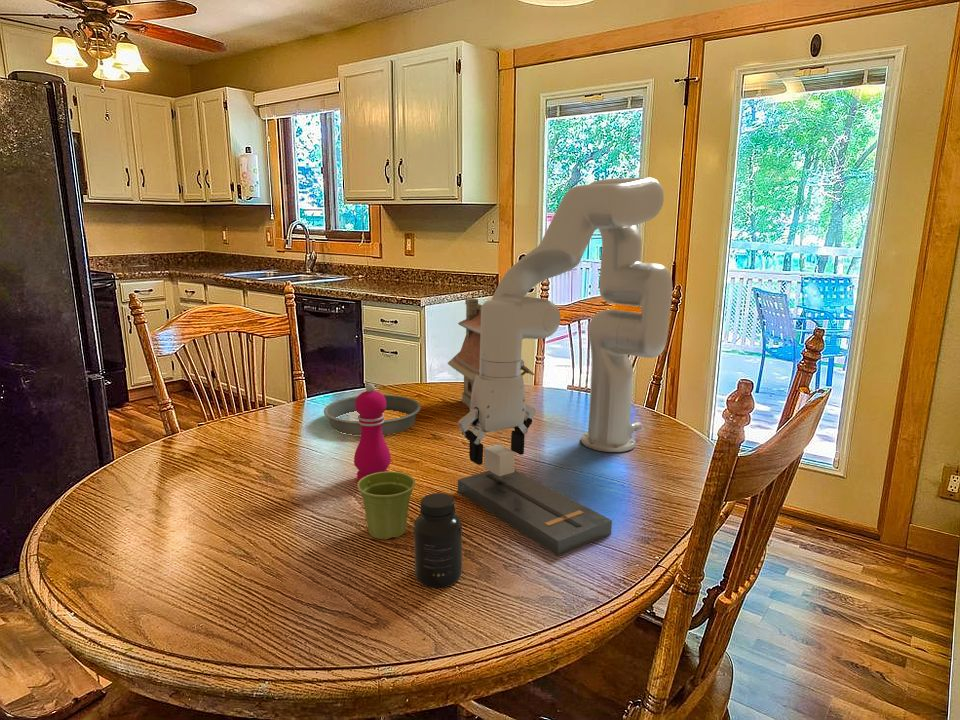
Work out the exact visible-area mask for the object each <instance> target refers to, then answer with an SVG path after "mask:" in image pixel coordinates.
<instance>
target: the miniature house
mask: <svg viewBox="0 0 960 720" xmlns="http://www.w3.org/2000/svg"><path fill="white" fill-rule="evenodd" d="M464 301H465V303H464V304H465V306H466V307H465V308H466V310H465V311H466V313H465V314H466V315H465V316H466V317H465V319H463V320H461V321H459V322H458V323H457V324H458V325H459V326H460V327H463V328H464V329H465V336H464V340H463V342H462V345H461V348H460V351H459V352H458V353H457V354H455V356H454V357H452V358H451V359H450V360H449V361H448V362H447V365H449V366H450V367H451V368H452V369H454V370H455V371H457V372H458V373H460V374H461V375H462V376H463V392H462V393H461V402H462V403H463V404H464V403H465V404H466V405H467V406H466V405H465V404H464V405H465V406H466V407H467V408H469V409H470V402H471V394H472V389H473V384H474V380H475V377H476V376H478V375H479V369H480V334H481V308H482V305H483V304H480V303H479V299H478V298H475V297H473V298H465V300H464ZM521 371H522V372H521V375H522V376H524V375H526V374H529V375H531V376H535V373H534V372H533V371H532V370H531V369H529V368H528V367H527V366H525V365H524V366H523V367H521Z"/></svg>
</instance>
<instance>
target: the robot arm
mask: <svg viewBox="0 0 960 720" xmlns="http://www.w3.org/2000/svg"><path fill="white" fill-rule="evenodd" d="M664 194H665V193H664V189H663V186H662V185H661V183H660V182H659V181H658V179H655V178H653V177H627V178H625V177H624V178H608V179H607V178H606V179H599V180H596V181H593V182H590V183H589V184H581V185H576V186H573V187H571V188H569V189H568V190H567V192H566V193H565V194H564V195H563V197H562V199H561V201H560V202H559V204H558V207H557V209H556V211H555V212H554V216H553V217H552V219H551V221H550V223H549V225H548V227H547V229H546V230H545V232H544V235H543V237H542V239H541V242H540V243H539V244H538V245H537V247H535V248H533V249H532V250H530V252H528V253H527V254H525V255H524V256H523V257H522V258H520V259H519V260H518V261H517V262H516V263H515V264H512V266H511V267H510V268H509V269H508V270H507V271H506V273H505V274H504V275H503V276H502V278H501V280H500V281H499V283H498V285H497V287H496V289H495V291H494V293H493V295H492V298H491V299H490V300H486V301H484V303H482V304H481V305H482V308H481V334H480V369H479V375H478V376H476V377H475V380H474V384H473V389H472V394H471V402H470V408H469V412H467V414H466V415H464V416H463V417H462V418H460V419H458V422H457V426H458V427H459V429H460V431H461V434H462V436H464V437H465V438H466V440H467V441H469V447H468V449H469V452H468V455H469V460H470V462H473V463H474V464H476V465H478V466H481V465H482V464H484V444H483V443H481V442H482V441H483V439H484V438H485V436H486V434H487V433H494V432H498V431H504V430H508V429H512V430H511V433H510V434H511V435H510V436H511V438H510V450H512V451H514V452H515V454H518V455H520V456H521V455H524V454H525V453H524V452H525V435H527V434H528V432H529V430H528V429H529V428H530V427H531V425H532V423H533V419H534V417H535V414H536V412H537V409H536V408H534V406H531V405H528V404H527V403H526V392H525V383H524V378H523V376H524V375H523V376H522V375H521V373H522V372H521V371H522V370H521V367H523V366H525V361H524V359H522V348H523V347H522V346H523V345H522V344H523V339H528V340H529V339H531V340H532V339H533V340H542V339H546V338H547V339H548V338H549V337H551V336H553V334H555V333H556V331H558V329H559V327H560V323H561V316H562V315H561V313H560V310H559V307H558V306H557V305H556V304H555V303H554V302H553V301H550V300H548V299H545V298H540V297H533V296H532V297H531V296H526V295H527V294H528V293H529V292H530V291H531V290H532V289H533V288H534V287H536V286H537V285H539V284H540V283H543V282H544V281H546V280H548V279H551V278H554V277H557V276H559V275H560V276H561V275H562V274H564V273H566V272H570V271H571V270H573V269H575V268H576V267H577V266H578V265H579V264H580V262H581V260H582V258H583V256H584V254H585V251H586V249H587V247H588V245H589V243H590V241H591V239H592V236H593V234H594V233H595V231H596V230H598V231H599V233H600V236H601V243H602V244H601V259H600V260H601V261H600V270H599V272H600V273H599V294H600V297H601V298H602V300H604V302H607V303H609V304H614V305H623V306H628V307H629V306H631V307H640V309H641V312H634V311H628V310H627V311H626V310H617V309H606V310H605V309H604V310H601V311H598V312H597V313H595V314H594V315H593V316H592V317H591V319H590V322H589V326H588V339H589V344H590V345H589V346H590V354H591V368H590V369H591V372H590V374H591V375H590V388H589V389H590V390H589V409H588V410H589V412H588V425H587V429H588V431H585V432H584V433H582V435H581V437H580V442H581V444H582V445H584V446H585V447H587V448H589V449H592V450H595V451H599V452H605V453H621V452H627V451H630V450H633V449H634V448H635V447H636V441H637V440H636V438H634V437H633V436H632V434H633V433H634V432H637V431H639V430H640V431H641V430H642V427H643V425H642V424H641V422H639V421H636V422H633V423H631V418H632V417H631V416H632V415H631V414H632V413H631V412H632V401H633V400H632V399H633V398H632V397H633V388H634V387H633V384H634V369H633V365H632V362H631V360H630V358H629V356H633V357H640V358H645V359H646V358H647V359H653V358H656V357H659V356H660V355H662V353H663V352H664V350H665V348H666V346H667V345H666V344H667V342H668V336H669V326H670V317H671V310H672V309H671V308H672V300H673V299H672V297H673V280H672V276H671V273H670V270H669V269H668V268H667V267H666V266H664V265H663V264H660V263H653V262H642V245H643V244H642V242H643V241H642V235H641V233H640V231H639V228H638V226H637V225H640V224H644V223H646V222H650V221H651V220H653V219H654V218H656V216H658V215H659V213H660V212H661V210H662V207H663V205H664V198H665V195H664ZM470 426H471V427H472V428H471V429H470Z"/></svg>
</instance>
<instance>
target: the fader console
mask: <svg viewBox="0 0 960 720" xmlns="http://www.w3.org/2000/svg"><path fill="white" fill-rule="evenodd" d="M457 493H458V494H461V495H462V496H463V497H464V498H467V499H468V500H470V501H472V502H473V503H474V504H476V505H478V506H479V507H481V509H482V508H483V509H484V510H485V511H487V512H488V513H490V514H492V515H493V516H494V517H496V518H498V519H500V521H503V522H504V523H506V524H507V525H509V526H510V527H512V528H514V529H515V530H516V531H518V532H520V533H521V534H523V536H526V537H528V538H529V539H530V540H532V541H534V542H535V543H537V544H538V545H540V546H541V547H543V548H544V549H546V550H548V551H549V552H551V553H553V554H554V555H556V556H557V557H559V556H561V555H564V554H566V553H568V552H569V553H570V552H571V551H574V550H576V549H578V548H581V547H584V546H585V545H586V546H587V545H589V544H591V543H593V542H595V541H598V540H600V539H603V538H605V537H607V536H610V535H612V526H613V525H612V523H613V520H612V519H610V518H608V517H606V516H604V514H603V515H602V514H601V513H599V512H596V511H595V510H593V509H591V508H589V507H587V506H586V505H584V504H581V503H579V502H578V501H576V500H574V499H572V498H570V497H568V496H566V495H565V494H562V493H560V492H558V491H556V490H554V489H553V488H551V487H549V486H547V485H545V484H543V483H541V482H540V481H537V480H535V479H533V478H531V477H529V476H527V475H526V474H524V473H522V472H520V471H518V470H516V469H514V472H513V473H510V474H506V475H503V479H500V480H499V479H497V478H495V477H494V473H492V472H491V471H489V470H487V471H483V472H480V473H477V474H473V475H470V476H467V477H466V476H465V477H462V478H459V479H457Z"/></svg>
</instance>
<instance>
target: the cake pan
mask: <svg viewBox="0 0 960 720" xmlns="http://www.w3.org/2000/svg"><path fill="white" fill-rule="evenodd" d="M358 396H359V395H357V396H351V397H346V398H342V399H338V400H336V401H333V402H332V403H329V404H328V405H326V407H324V409H323V414H324V415H325V417H326V418H328V420H329V423H330V425H331V428H332V427H333V428H334V429H335V430H337V431H339V432H342V433H346V434H352V435H361V425H360V424H359V423H358V421H349V419H341V418H336V417H338V416H340V415H343V414H346V413H349V412H354V411H356V408H355V402H356V399H357V397H358ZM383 396H384V397H385V399H386V409H385V410H393V411H399V412H402V413H406V414H408V415H406V416H403V417H400V418H395V419H390V420H384V423H383V424H382V434H383V435H385V436H389V435H388V434H391V435H394V434H393V433H395V434H399V433H402V432H405V431H406V430H410V429H411V428H412V427H413V426H414V425H415V423H416V419H417V414H418V413H419V412H420V411H421V409H422V405H421V403H420V402H419V401H417V400H416V399H413V398H410V397H407V396H402V395H396V394H383ZM410 427H411V428H410ZM333 428H332V429H333ZM334 429H333V430H334ZM335 430H334V431H335ZM404 430H405V431H404ZM337 431H336V432H337ZM401 431H402V432H401ZM339 432H338V433H339ZM398 432H399V433H398ZM342 433H341V434H342ZM346 434H345V435H346Z"/></svg>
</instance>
